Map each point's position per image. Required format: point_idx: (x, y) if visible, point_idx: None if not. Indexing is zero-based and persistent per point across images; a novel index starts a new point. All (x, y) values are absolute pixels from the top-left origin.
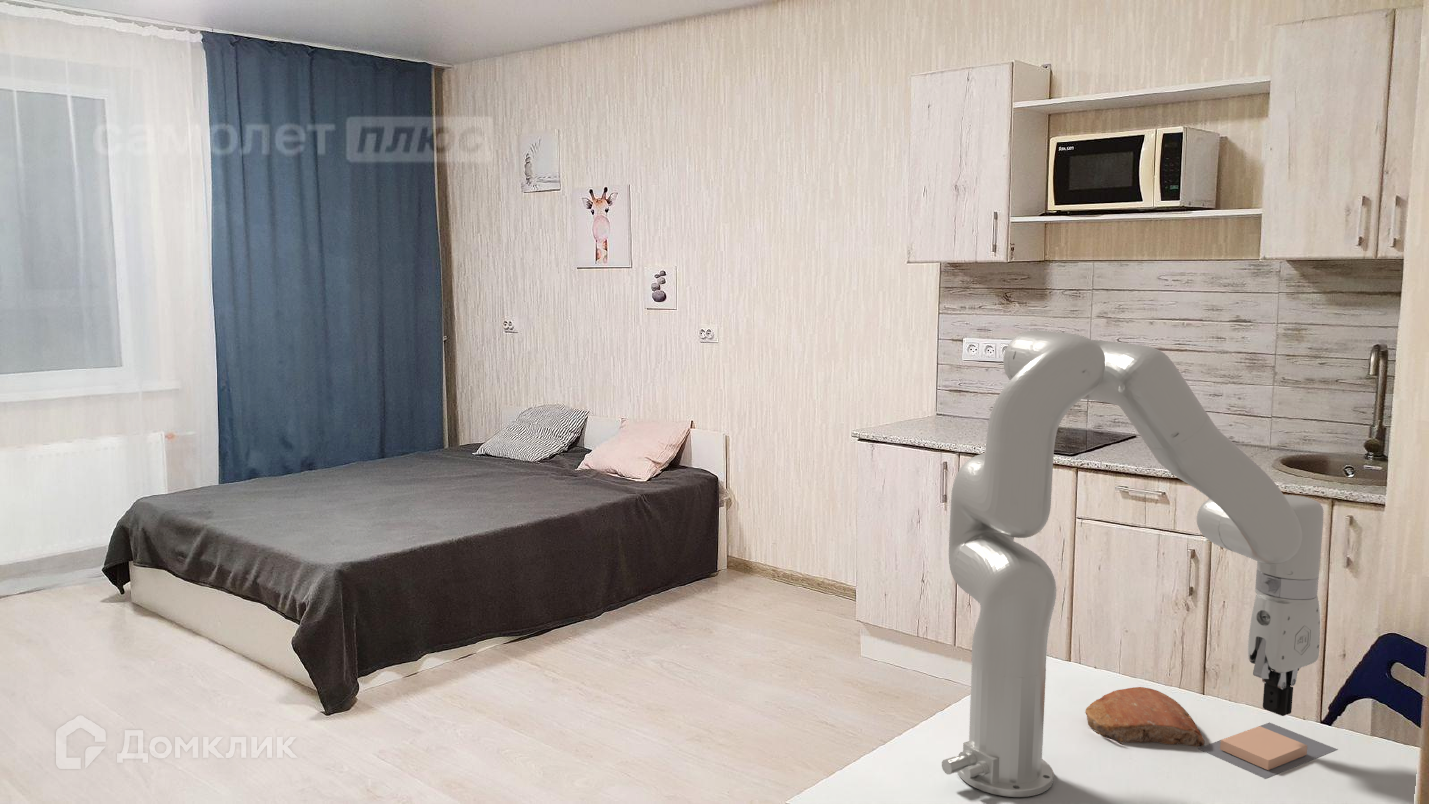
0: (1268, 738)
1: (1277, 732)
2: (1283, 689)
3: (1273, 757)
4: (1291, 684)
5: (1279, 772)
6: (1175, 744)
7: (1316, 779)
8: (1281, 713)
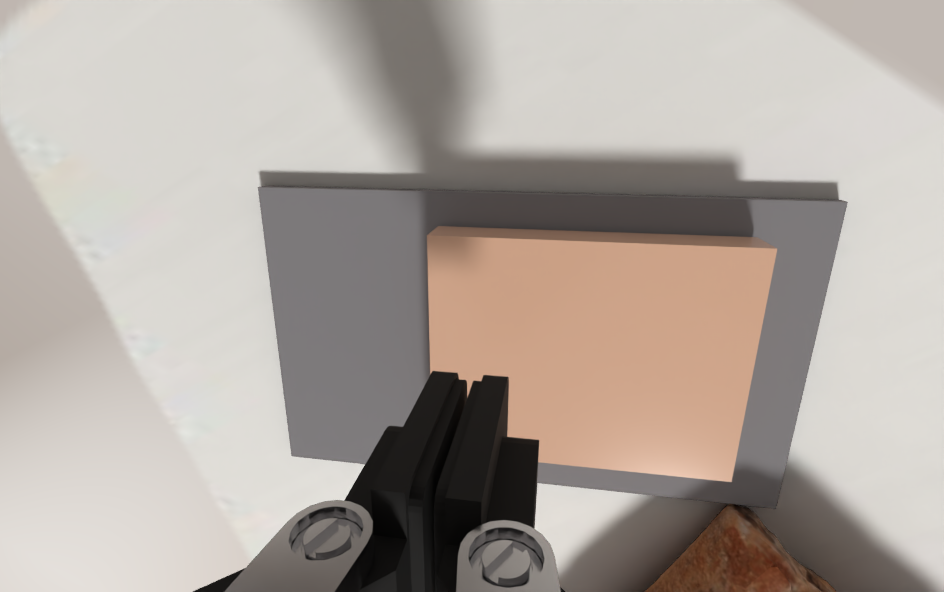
0: (520, 371)
1: (343, 400)
2: (479, 520)
3: (719, 252)
4: (365, 520)
5: (719, 200)
6: (810, 570)
7: (602, 82)
8: (507, 397)
